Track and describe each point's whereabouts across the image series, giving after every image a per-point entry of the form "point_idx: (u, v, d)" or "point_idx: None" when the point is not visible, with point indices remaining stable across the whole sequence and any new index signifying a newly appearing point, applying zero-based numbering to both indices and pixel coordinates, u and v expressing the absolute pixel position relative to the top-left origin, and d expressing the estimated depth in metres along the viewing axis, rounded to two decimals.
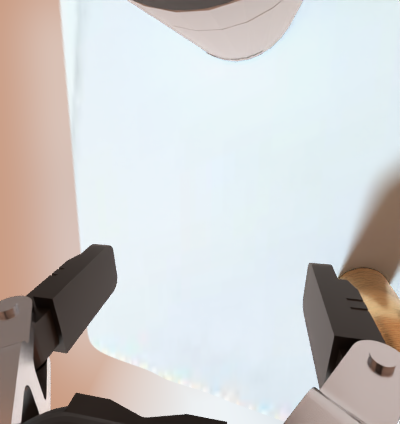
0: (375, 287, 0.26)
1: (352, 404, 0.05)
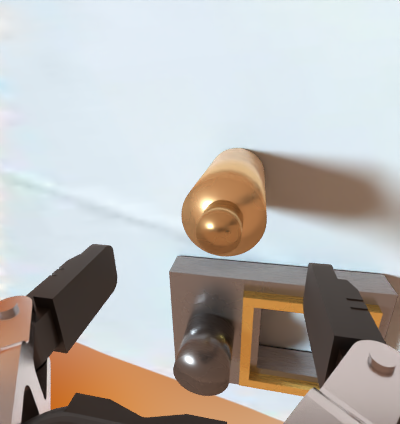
0: None
1: (352, 404, 0.05)
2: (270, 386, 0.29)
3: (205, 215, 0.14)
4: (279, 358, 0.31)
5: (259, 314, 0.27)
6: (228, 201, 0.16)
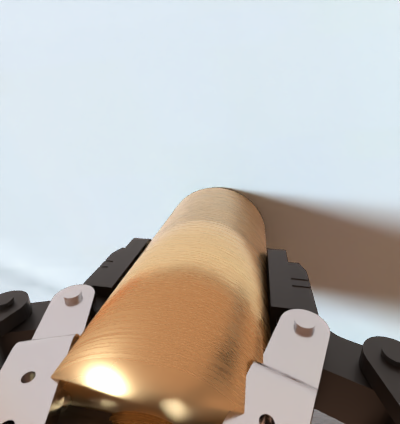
0: None
1: (287, 367, 0.06)
2: None
3: None
4: None
5: None
6: (157, 421, 0.05)
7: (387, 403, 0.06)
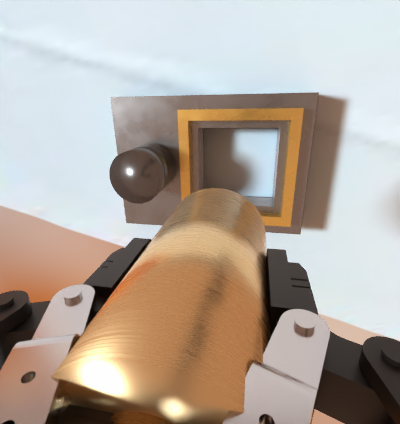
0: None
1: (287, 367, 0.06)
2: None
3: None
4: None
5: (196, 136, 0.28)
6: (157, 421, 0.05)
7: (387, 403, 0.06)
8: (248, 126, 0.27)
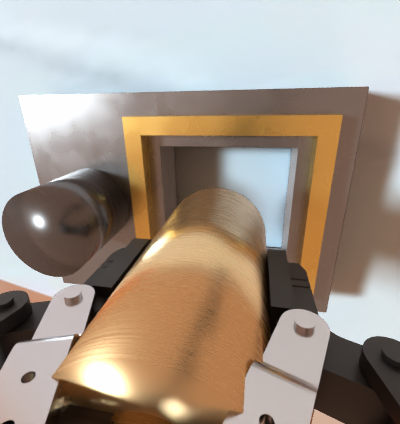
0: None
1: (287, 366, 0.06)
2: None
3: None
4: None
5: (158, 160, 0.17)
6: (157, 421, 0.05)
7: (387, 403, 0.06)
8: (243, 144, 0.16)
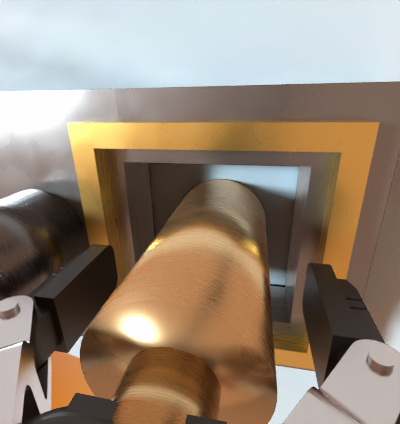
0: None
1: (351, 403, 0.05)
2: None
3: None
4: None
5: (122, 180, 0.13)
6: (181, 353, 0.06)
7: None
8: (235, 161, 0.12)
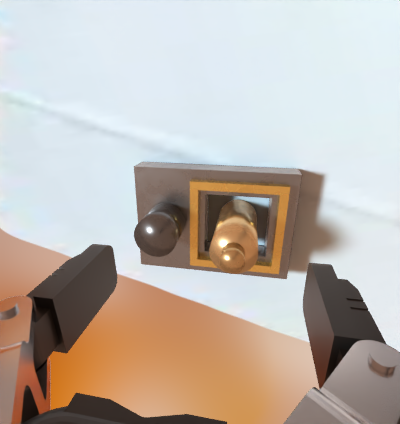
0: None
1: (352, 404, 0.05)
2: None
3: (225, 252, 0.27)
4: None
5: (204, 200, 0.35)
6: (236, 243, 0.28)
7: None
8: (246, 195, 0.34)
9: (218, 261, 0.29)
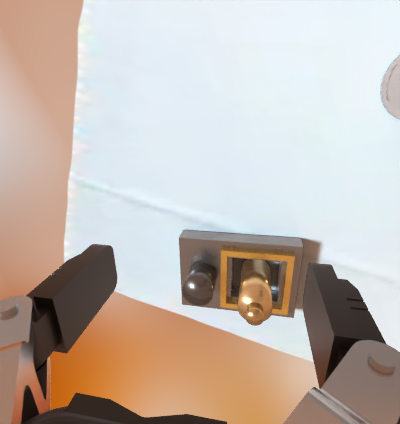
0: (270, 280, 0.47)
1: (352, 404, 0.05)
2: None
3: (250, 312, 0.39)
4: None
5: (231, 261, 0.47)
6: (257, 303, 0.40)
7: None
8: (262, 259, 0.46)
9: (244, 313, 0.42)
